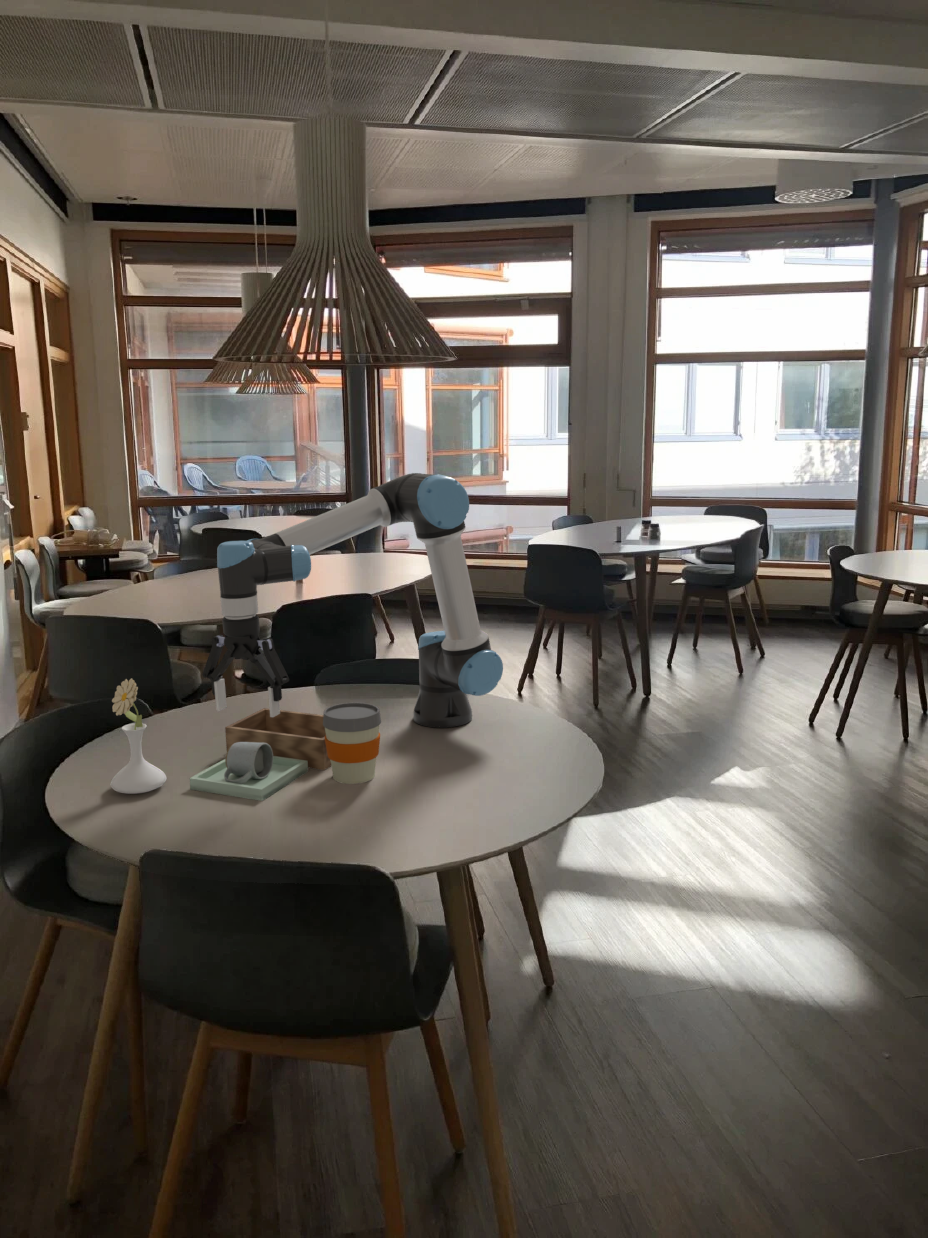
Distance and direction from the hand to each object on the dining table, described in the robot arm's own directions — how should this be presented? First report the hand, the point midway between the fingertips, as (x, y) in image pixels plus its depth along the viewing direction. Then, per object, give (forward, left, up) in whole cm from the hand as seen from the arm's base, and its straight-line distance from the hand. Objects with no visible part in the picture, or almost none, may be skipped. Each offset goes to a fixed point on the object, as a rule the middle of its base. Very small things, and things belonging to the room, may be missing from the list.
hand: (248, 712), depth 210 cm
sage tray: (0, 0, -15) cm, 15 cm away
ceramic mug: (0, +2, -15) cm, 15 cm away
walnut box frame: (+1, -19, -15) cm, 24 cm away
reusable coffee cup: (-20, -10, -16) cm, 27 cm away
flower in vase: (+19, +13, -16) cm, 28 cm away
